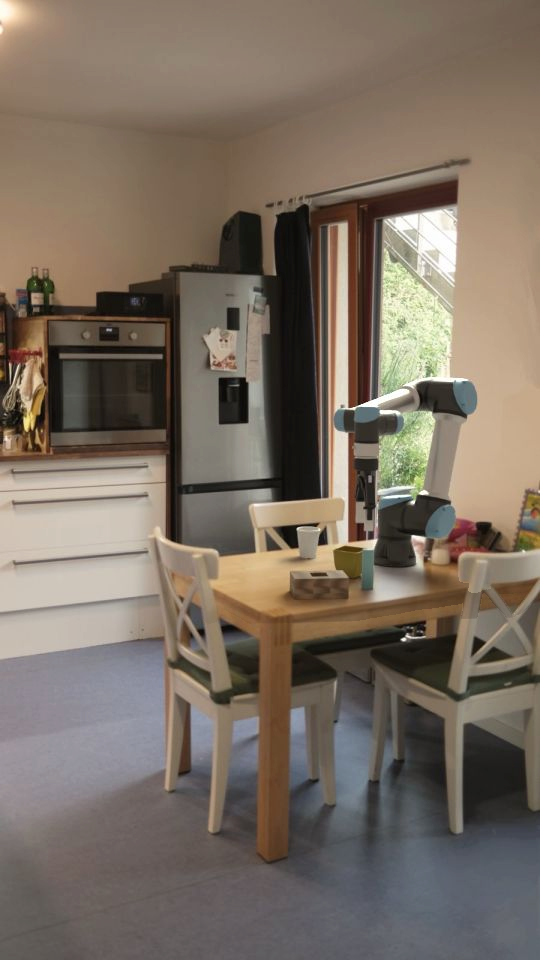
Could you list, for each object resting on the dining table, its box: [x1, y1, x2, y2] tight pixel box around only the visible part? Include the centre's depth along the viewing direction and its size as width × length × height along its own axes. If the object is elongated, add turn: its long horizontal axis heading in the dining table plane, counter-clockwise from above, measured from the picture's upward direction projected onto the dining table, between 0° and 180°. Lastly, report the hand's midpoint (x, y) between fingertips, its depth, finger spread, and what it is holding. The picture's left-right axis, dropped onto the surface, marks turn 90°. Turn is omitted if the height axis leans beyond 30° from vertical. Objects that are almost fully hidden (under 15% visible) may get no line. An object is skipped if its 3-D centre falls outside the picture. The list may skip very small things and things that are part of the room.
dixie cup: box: [296, 526, 321, 559], centre depth 342 cm, size 8×8×10 cm
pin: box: [360, 548, 375, 591], centre depth 297 cm, size 4×4×12 cm
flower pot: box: [332, 544, 368, 579], centre depth 313 cm, size 9×9×9 cm
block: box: [289, 569, 350, 600], centre depth 290 cm, size 16×10×6 cm, turn 97°
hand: (364, 526), depth 296 cm, fingers open, 13 cm apart
